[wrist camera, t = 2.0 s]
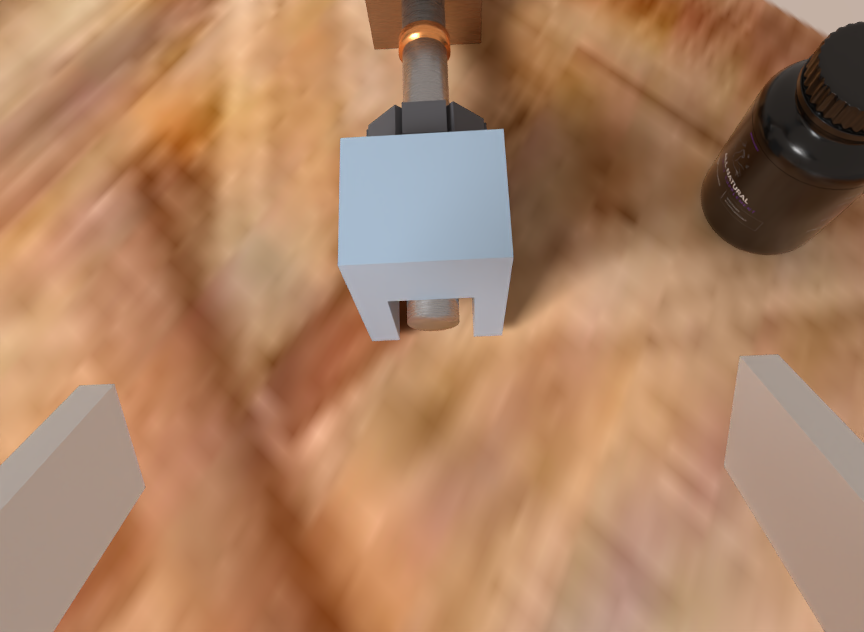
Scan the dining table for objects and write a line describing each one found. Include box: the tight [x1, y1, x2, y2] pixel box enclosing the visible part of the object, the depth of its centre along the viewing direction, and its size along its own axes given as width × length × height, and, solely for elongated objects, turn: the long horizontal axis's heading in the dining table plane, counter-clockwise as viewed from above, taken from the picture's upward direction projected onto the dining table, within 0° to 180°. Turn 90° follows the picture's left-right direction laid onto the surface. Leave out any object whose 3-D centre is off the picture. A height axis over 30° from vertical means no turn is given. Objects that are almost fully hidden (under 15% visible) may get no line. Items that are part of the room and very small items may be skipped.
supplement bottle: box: [701, 22, 864, 255], centre depth 33 cm, size 7×7×12 cm
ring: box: [367, 100, 487, 137], centre depth 35 cm, size 2×6×6 cm, turn 92°
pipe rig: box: [365, 0, 482, 331], centre depth 38 cm, size 25×7×7 cm, turn 2°
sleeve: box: [338, 129, 513, 341], centre depth 32 cm, size 6×7×10 cm
